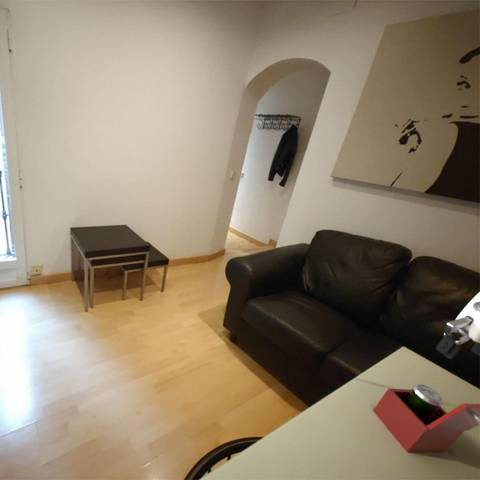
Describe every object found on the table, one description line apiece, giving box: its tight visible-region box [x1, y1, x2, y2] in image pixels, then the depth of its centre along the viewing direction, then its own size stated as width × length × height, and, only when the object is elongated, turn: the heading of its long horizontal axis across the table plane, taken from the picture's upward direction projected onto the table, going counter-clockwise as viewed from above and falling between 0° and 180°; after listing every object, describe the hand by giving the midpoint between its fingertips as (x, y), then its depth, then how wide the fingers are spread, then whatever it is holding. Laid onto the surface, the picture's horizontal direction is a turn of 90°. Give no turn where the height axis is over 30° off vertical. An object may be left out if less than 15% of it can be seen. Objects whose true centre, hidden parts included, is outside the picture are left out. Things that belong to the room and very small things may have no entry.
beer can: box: [403, 383, 444, 424], centre depth 67 cm, size 5×5×12 cm
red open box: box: [372, 388, 466, 453], centre depth 67 cm, size 10×11×9 cm
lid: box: [427, 403, 480, 431], centre depth 56 cm, size 11×11×5 cm
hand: (461, 354), depth 60 cm, fingers open, 9 cm apart
